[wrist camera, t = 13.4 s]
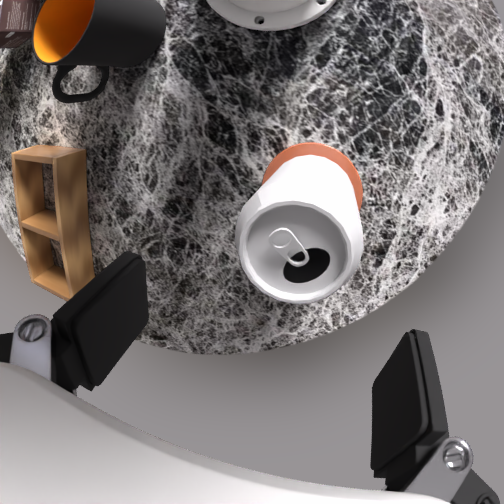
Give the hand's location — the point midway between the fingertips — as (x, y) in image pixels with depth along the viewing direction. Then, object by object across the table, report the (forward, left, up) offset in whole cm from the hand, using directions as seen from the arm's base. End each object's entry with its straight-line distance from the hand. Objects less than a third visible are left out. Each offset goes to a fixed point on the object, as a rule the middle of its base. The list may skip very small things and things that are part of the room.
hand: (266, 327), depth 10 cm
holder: (+10, -31, -19) cm, 38 cm away
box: (-19, -42, -19) cm, 50 cm away
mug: (-12, -21, -19) cm, 31 cm away
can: (+1, 0, -19) cm, 19 cm away
